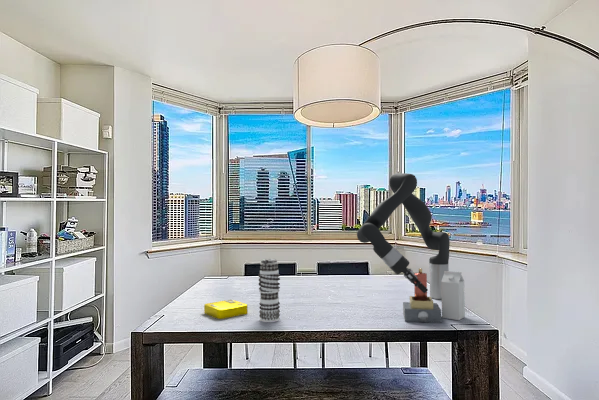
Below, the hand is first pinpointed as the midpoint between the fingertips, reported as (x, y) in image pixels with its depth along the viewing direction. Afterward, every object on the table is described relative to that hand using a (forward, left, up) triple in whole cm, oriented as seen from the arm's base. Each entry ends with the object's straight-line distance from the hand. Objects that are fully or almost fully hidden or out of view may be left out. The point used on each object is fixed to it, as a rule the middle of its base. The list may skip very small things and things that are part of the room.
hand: (425, 290), depth 169 cm
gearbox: (0, -2, -12) cm, 12 cm away
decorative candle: (+11, -64, -12) cm, 66 cm away
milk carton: (-3, +11, -12) cm, 17 cm away
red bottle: (0, -2, -5) cm, 6 cm away
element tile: (+4, -86, -12) cm, 87 cm away
